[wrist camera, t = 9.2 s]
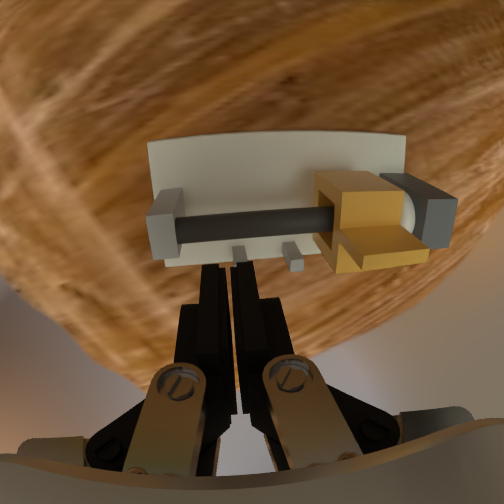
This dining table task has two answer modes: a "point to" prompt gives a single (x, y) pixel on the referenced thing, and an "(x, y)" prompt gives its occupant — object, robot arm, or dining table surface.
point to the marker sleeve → (364, 223)
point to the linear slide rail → (272, 193)
